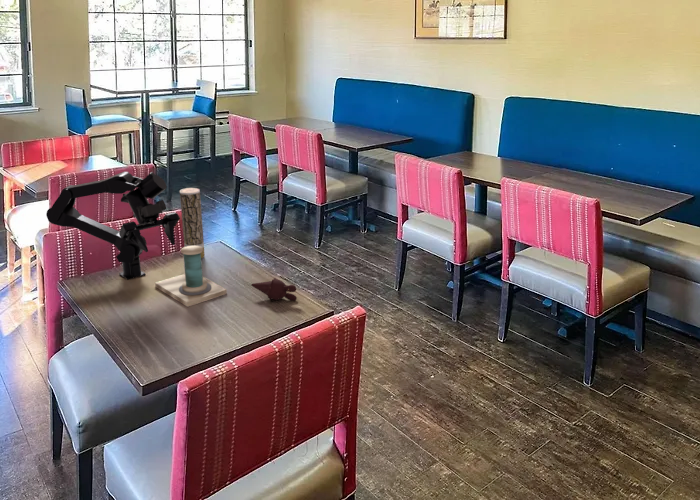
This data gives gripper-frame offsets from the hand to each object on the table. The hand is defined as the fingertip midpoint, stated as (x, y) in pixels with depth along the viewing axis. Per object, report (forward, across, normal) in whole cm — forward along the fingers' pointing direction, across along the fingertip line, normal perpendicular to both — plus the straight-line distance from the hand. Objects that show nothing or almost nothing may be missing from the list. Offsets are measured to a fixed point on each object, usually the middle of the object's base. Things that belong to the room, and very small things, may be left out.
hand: (160, 247), depth 204 cm
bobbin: (+16, +5, +1) cm, 16 cm away
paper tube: (-2, +21, +21) cm, 30 cm away
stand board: (+15, +5, +4) cm, 16 cm away
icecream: (+32, +21, -12) cm, 40 cm away
